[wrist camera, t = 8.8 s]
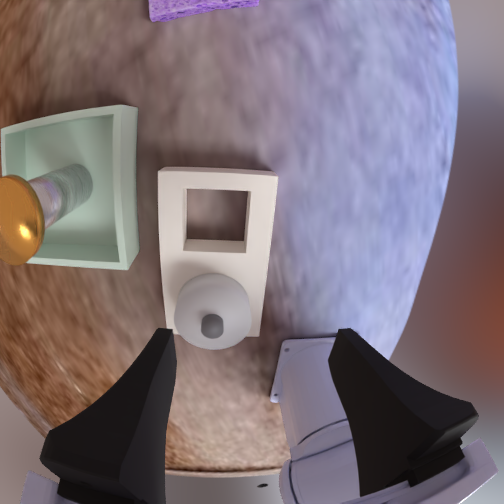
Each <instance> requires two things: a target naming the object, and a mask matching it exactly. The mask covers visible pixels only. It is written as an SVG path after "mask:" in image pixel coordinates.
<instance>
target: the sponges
mask: <svg viewBox="0 0 504 504" xmlns="http://www.w3.org/2000/svg"><path fill="white" fill-rule="evenodd" d="M258 2H259V0H149V14H150V19H151V21H152V22H155V21H161V22H165V21H169V20H173V19H176V18H178V17H185V16H190V15H195V14H199V13H204V12H209V11H213V10H215V9H230V8H235V7H236V8H240V7H252V6H258Z"/></svg>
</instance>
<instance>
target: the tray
mask: <svg viewBox="0 0 504 504" xmlns="http://www.w3.org/2000/svg"><path fill="white" fill-rule="evenodd" d="M137 121H138V108H137V107H132V106H127V105H114V106H105V107H97V108H90V109H84V110H77V111H72V112H66V113H61V114H56V115H51V116H47V117H42V118H38V119H34V120H30V121H26V122H22V123H19V124H15V125H12V126H8V127H5V128H2V129H1V161H2V177H3V176H5V175H9V174H14V175H18V176H20V177H22V178H24V179H25V180H26V181H28V180H30V179H33V178H35V177H38V176H41V175H43V174H46V173H48V172H51V171H54V170H57V169H59V168H62V167H65V166H68V165H71V164H80V165H82V166H84V167H85V168H86V169H87V170H88V171H89V173H90V175H91V177H92V181H93V190H92V194H91V196H90V198H89V199H88V200H87V201H86V202H85V203H84V204H82V205H81V206H79V207H78V208H76V209H75V210H73V211H72V212H70V213H69V214H67V215H66V216H64V217H63V218H61V219H60V220H58V221H57V222H56V223H54V224H53V225H51V226H50V227H49V228H47V229H46V230H45V234H44V240H43V243H42V245H41V248H40V249H39V251H38V252H37V253H36V254H35V255H34V256H33V257H32V258H31V259H29V260H28V261H27V262H26V263H34V264H46V265H59V266H72V267H87V268H102V269H118V270H128V269H129V267H130V266H131V264H132V262H133V261H134V259H135V257H136V256H137V254H138V253H139V251H140V245H139V231H138V215H137V187H136V147H137Z"/></svg>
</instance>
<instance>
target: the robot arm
mask: <svg viewBox="0 0 504 504" xmlns="http://www.w3.org/2000/svg"><path fill="white" fill-rule="evenodd" d="M286 348H288V349H286ZM176 367H177V359H176V352H175V344H174V336H173V329H165V328H158V329H157V330H156V331H155V333H154V334H153V336H152V338H151V339H150V341H149V342H148V343H147V345H146V346H145V348H144V349H143V351H142V352H141V353H140V355H139V356H138V357H137V358H136V360H135V361H134V362H133V364H132V365H131V366H130V367H129V368H128V370H127V371H126V372H125V373H124V374H123V375H122V377H121V378H120V379H119V380H118V381H117V382H116V383H115V384H114V385H113V386H112V387H111V388H110V389H109V390H108V391H107V392H106V393H105V394H103V395H102V396H101V397H100V398H99V399H98V400H97V401H95V402H94V403H93V404H92V405H90V406H89V407H88V408H86V409H85V410H83V411H82V412H81V413H79V414H78V415H76V416H75V417H73V418H72V419H70V420H69V421H67V422H65V423H63V424H61V425H59V426H58V427H56V428H54V429H52V430H50V431H49V433H48V435H47V437H46V439H45V442H44V445H43V449H42V452H41V455H40V461H41V462H42V464H43V465H44V466H45V467H47V468H48V469H49V470H50V471H51V472H53V473H54V474H55V475H57V476H58V477H59V478H60V482H59V484H58V483H56V482H54V481H52V480H50V479H48V478H46V477H43V476H41V475H39V474H36V473H35V472H32V471H28V473H27V476H26V480H25V484H24V488H23V492H22V497H21V502H20V504H166V498H165V444H166V430H167V423H168V417H169V412H170V407H171V402H172V396H173V391H174V386H175V379H176ZM270 401H271V402H279V403H280V408H281V413H282V418H283V423H284V428H285V433H286V438H287V442H288V445H289V447H290V454H291V459H288V460H287V461H285V463H284V464H283V467H282V469H281V471H280V475H279V487H280V493H281V496H282V499H283V502H284V504H460V503H461V502H463V501H464V500H465V499H466V498H468V497H469V496H470V495H471V494H473V493H474V492H475V491H476V490H478V489H479V488H480V487H481V486H483V485H484V484H485V483H486V482H487V481H489V480H490V479H491V478H492V477H493V476H495V475H496V474H497V473H498V469H497V467H496V465H495V463H494V461H493V459H492V457H491V456H490V454H489V452H488V450H487V448H486V446H485V444H484V443H483V441H482V439H481V438H479V439H477V440H476V441H474V442H472V443H471V444H469V445H468V446H466V447H465V448H463V449H462V450H461V448H460V445H461V444H462V440H461V437H462V436H463V435H464V434H465V433H466V431H468V430H469V429H470V428H471V427H472V426H473V425H474V424H475V422H476V421H477V420H478V417H479V415H478V413H477V411H476V410H475V408H474V407H473V405H472V404H471V403H470V402H466V401H463V400H459V399H456V398H453V397H450V396H448V395H445V394H442V393H440V392H438V391H436V390H434V389H432V388H430V387H428V386H426V385H424V384H422V383H420V382H418V381H417V380H415V379H414V378H412V377H410V376H409V375H407V374H406V373H404V372H403V371H401V370H400V369H399V368H397V367H396V366H395V365H393V364H392V363H391V362H390V361H388V360H387V359H386V358H385V357H383V356H382V355H381V354H380V353H379V352H378V351H376V350H375V349H374V348H373V347H372V346H371V345H370V344H368V343H367V342H366V341H365V340H364V339H363V338H362V337H361V336H360V335H358V334H357V333H356V332H355V331H353V330H352V329H351V328H347V329H339V330H338V333H337V336H336V337H332V338H315V339H292V340H285V341H283V343H282V346H281V350H280V355H279V360H278V364H277V369H276V373H275V378H274V382H273V386H272V391H271V395H270Z"/></svg>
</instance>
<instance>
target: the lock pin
mask: <svg viewBox="0 0 504 504" xmlns="http://www.w3.org/2000/svg"><path fill="white" fill-rule="evenodd" d="M92 190H93V181H92V177H91V175H90V173H89V171H88V170H87V169H86V168H85V167H84V166H82V165H80V164H71V165H68V166H65V167H62V168H59V169H57V170H54V171H51V172H48V173H46V174H43V175H41V176H38V177H35V178H33V179H30V180H28V181H26V180H25V179H24V178H22V177H20V176H18V175H14V174H9V175H5V176H3V177H0V259H1V260H3V261H4V262H6V263H8V264H10V265H15V266H18V265H22V264H24V263H26V262H27V261H28V260H29V259H31V258H32V257H33V256H34V255H35V254H36V253H37V252H38V251H39V249H40V248H41V245H42V243H43V240H44V234H45V230H46V229H47V228H49V227H50V226H51V225H53V224H54V223H56V222H57V221H58V220H60V219H61V218H63V217H64V216H66V215H67V214H69V213H70V212H72V211H73V210H75V209H76V208H78V207H79V206H81V205H82V204H84V203H85V202H86V201H87V200H88V199H89V198H90V196H91V194H92Z"/></svg>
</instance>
